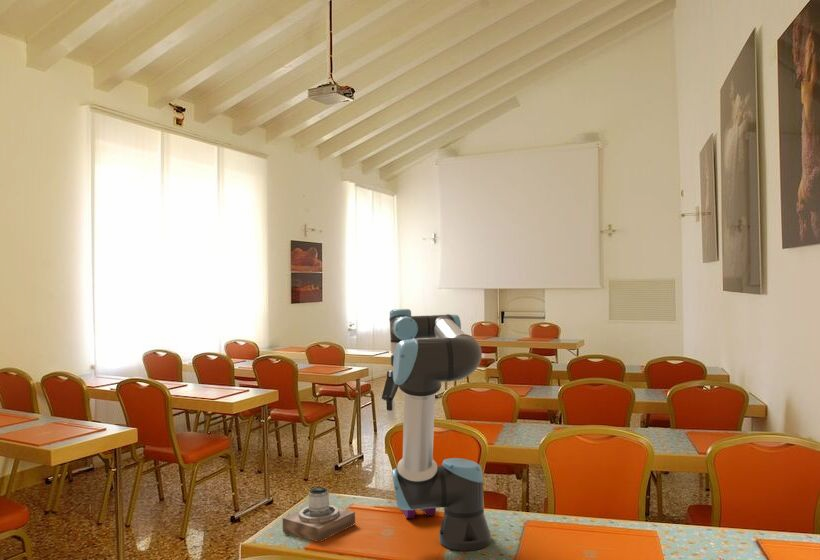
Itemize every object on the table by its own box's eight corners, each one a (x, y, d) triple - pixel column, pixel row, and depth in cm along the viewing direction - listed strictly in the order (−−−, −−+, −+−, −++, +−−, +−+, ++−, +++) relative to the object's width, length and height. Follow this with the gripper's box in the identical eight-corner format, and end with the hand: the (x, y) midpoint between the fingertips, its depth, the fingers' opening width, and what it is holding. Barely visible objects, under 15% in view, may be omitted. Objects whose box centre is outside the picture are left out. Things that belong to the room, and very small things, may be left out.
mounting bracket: (397, 523, 216) (408, 517, 200) (394, 498, 220) (405, 489, 204) (423, 519, 218) (437, 513, 203) (420, 494, 222) (432, 486, 206)
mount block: (355, 524, 201) (354, 508, 201) (319, 542, 188) (318, 524, 188) (319, 514, 210) (318, 499, 210) (282, 530, 197) (282, 514, 197)
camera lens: (312, 510, 203) (312, 485, 203) (331, 510, 202) (330, 486, 202) (306, 517, 196) (305, 492, 197) (325, 517, 196) (325, 492, 196)
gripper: (414, 349, 228) (416, 408, 228) (369, 357, 208) (371, 422, 208) (431, 350, 224) (433, 410, 224) (387, 358, 204) (389, 424, 204)
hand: (403, 416), depth 216 cm, fingers open, 13 cm apart
